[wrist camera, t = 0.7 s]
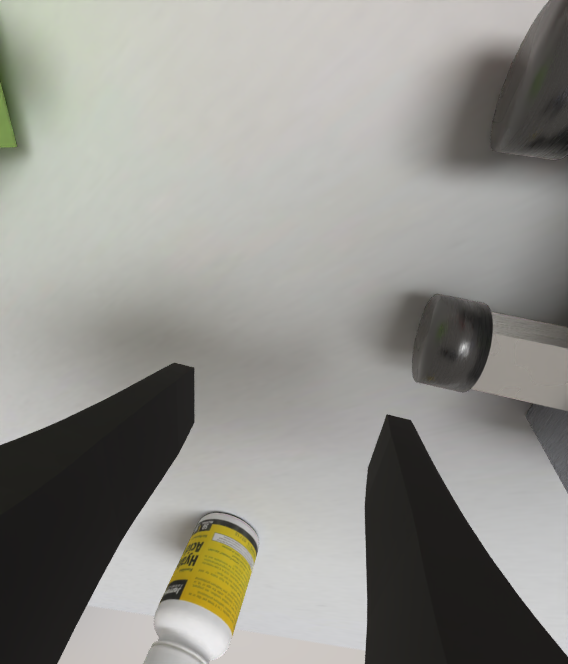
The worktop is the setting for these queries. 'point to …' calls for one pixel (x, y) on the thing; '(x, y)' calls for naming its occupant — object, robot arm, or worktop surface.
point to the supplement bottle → (205, 593)
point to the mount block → (552, 436)
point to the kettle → (5, 124)
